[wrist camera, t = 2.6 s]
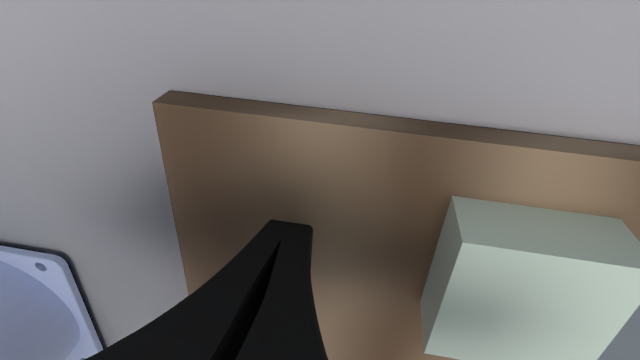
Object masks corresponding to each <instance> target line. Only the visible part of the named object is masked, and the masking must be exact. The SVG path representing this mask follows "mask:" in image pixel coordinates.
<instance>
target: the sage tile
mask: <svg viewBox="0 0 640 360" xmlns="http://www.w3.org/2000/svg"><path fill="white" fill-rule="evenodd" d="M420 305H421V318H422V332H423V345H424V353H426V354H431V355H437V356H442V357H448V358H453V359H459V360H597V359H598V358H599V357H600V355H601V354H602V353H603V351H604V350H605V349H606V348H607V346H608V345H609V344H610V342H611V341H612V340H613V339H614V337H615V336H616V335H617V333H618V332H619V331H620V330H621V328H622V327H623V326H624V324H625V323H626V322H627V320H628V319H629V318H630V317H631V315H632V314H633V313H634V311H635V310H636V309H637V308H638V306H639V305H640V242H639V240H638V239H637V238H636V237H635V236H634V234H633V233H632V232H631V231H630V229H629V228H628V227H627V226H626V225H625V223H624V222H623V221H622V220H621V219H618V218H611V217H604V216H596V215H589V214H582V213H574V212H567V211H560V210H552V209H545V208H538V207H531V206H523V205H516V204H509V203H501V202H494V201H487V200H479V199H472V198H465V197H457V196H452V197H451V201H450V204H449V207H448V210H447V214H446V217H445V220H444V224H443V227H442V230H441V234H440V237H439V240H438V244H437V247H436V250H435V254H434V257H433V260H432V264H431V267H430V270H429V274H428V277H427V280H426V284H425V287H424V290H423V294H422V297H421V300H420Z"/></svg>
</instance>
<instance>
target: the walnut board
mask: <svg viewBox="0 0 640 360" xmlns="http://www.w3.org/2000/svg"><path fill="white" fill-rule="evenodd" d="M152 104H153V110H154V115H155V120H156V125H157V131H158V136H159V141H160V146H161V151H162V157H163V162H164V167H165V172H166V178H167V183H168V188H169V193H170V199H171V204H172V209H173V214H174V220H175V225H176V230H177V235H178V241H179V246H180V251H181V256H182V261H183V267H184V272H185V277H186V282H187V288H188V293H189V295H190V294H192V293H193V292H194V291H196V290H197V289H198V288H199V287H201V286H202V285H203V284H204V283H205V282H207V281H208V280H209V279H210V278H211V277H212V276H213V275H215V274H216V273H217V272H218V271H219V270H220V269H222V268H223V267H224V266H225V265H226V264H227V263H228V262H229V261H230V260H231V259H232V258H233V257H234V256H235V255H236V254H237V253H239V252H240V251H241V250H242V249H243V248H244V247H245V246H246V245H247V244H248V243H249V242H250V240H251V239H252V238H253V237H254V236H255V235H256V234H257V233H258V232H259V231H260V230H261V229H262V228H263V226H264V225H265V224H266V223H267V222H268V221H269V220H271V219H272V220H279V221H286V222H292V223H299V224H306V225H310V226H311V227H312V228H313V240H312V257H311V272H310V273H311V284H312V291H313V297H314V304H315V309H316V314H317V319H318V323H319V328H320V332H321V336H322V340H323V343H324V347H325V351H326V354H327V357H328V360H459V359H453V358H448V357H442V356H437V355H431V354H426V353H424V345H423V332H422V318H421V305H420V300H421V297H422V294H423V290H424V287H425V284H426V280H427V277H428V274H429V270H430V267H431V264H432V260H433V257H434V254H435V250H436V247H437V244H438V240H439V237H440V234H441V230H442V227H443V224H444V220H445V217H446V214H447V210H448V207H449V204H450V201H451V197H452V196H457V197H465V198H472V199H479V200H487V201H494V202H501V203H509V204H516V205H523V206H531V207H538V208H545V209H552V210H560V211H567V212H574V213H582V214H589V215H596V216H604V217H611V218H618V219H621V220H622V221H623V222H624V223H625V225H626V226H627V227H628V228H629V229H630V231H631V232H632V233H633V234H634V236H635V237H636V238H637V239H638V240H639V242H640V146H637V145H628V144H620V143H611V142H603V141H594V140H586V139H577V138H569V137H560V136H552V135H543V134H534V133H526V132H517V131H509V130H500V129H492V128H483V127H475V126H466V125H458V124H449V123H441V122H432V121H424V120H415V119H407V118H398V117H390V116H381V115H373V114H364V113H356V112H347V111H339V110H330V109H322V108H313V107H304V106H296V105H287V104H279V103H270V102H262V101H253V100H245V99H236V98H228V97H219V96H211V95H202V94H194V93H185V92H177V91H168V92H167V93H165V94H164V95H162V96H161V97H159V98H158V99H156V100H155V101H153V102H152Z"/></svg>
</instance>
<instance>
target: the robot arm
mask: <svg viewBox="0 0 640 360" xmlns="http://www.w3.org/2000/svg"><path fill="white" fill-rule="evenodd" d="M312 240H313V228H312V227H311V226H310V225H306V224H299V223H292V222H286V221H279V220H272V219H271V220H269V221H268V222H267V223H266V224H265V225H264V226H263V228H262V229H261V230H260V231H259V232H258V233H257V234H256V235H255V236H254V237H253V238H252V239H251V240H250V242H249V243H248V244H247V245H246V246H245V247H244V248H243V249H242V250H241V251H240V252H239V253H237V254H236V255H235V256H234V257H233V258H232V259H231V260H230V261H229V262H228V263H227V264H226V265H225V266H224V267H223V268H222V269H220V270H219V271H218V272H217V273H216V274H215V275H213V276H212V277H211V278H210V279H209V280H208V281H207V282H205V283H204V284H203V285H202V286H201V287H199V288H198V289H197V290H196V291H194V292H193V293H192V294H190V295H189V296H188V297H186V298H185V299H184V300H182V301H181V302H180V303H178V304H177V305H175V306H174V307H173V308H171V309H170V310H168V311H167V312H165V313H164V314H162V315H161V316H159V317H158V318H156V319H155V320H153V321H152V322H150V323H149V324H147V325H145V326H144V327H142V328H141V329H139V330H137V331H136V332H134V333H132V334H130V335H129V336H127V337H125V338H123V339H122V340H120V341H118V342H116V343H114V344H113V345H111V346H109V347H107V348H106V349H104V350H103V347H102V345H101V343H100V340H99V338H98V335H97V333H96V331H95V328H94V326H93V323H92V321H91V319H90V316H89V314H88V312H87V309H86V307H85V304H84V302H83V300H82V297H81V295H80V292H79V290H78V288H77V285H76V283H75V281H74V278H73V276H72V273H71V271H70V269H69V266H68V264H67V262H66V261H65V260H64V259H63V258H61V257H60V256H57V255H53V254H47V253H41V252H35V251H30V250H24V249H18V248H12V247H6V246H0V360H328V357H327V354H326V351H325V347H324V343H323V340H322V336H321V332H320V328H319V323H318V319H317V314H316V309H315V304H314V297H313V291H312V284H311V273H310V272H311V257H312Z"/></svg>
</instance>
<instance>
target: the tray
mask: <svg viewBox="0 0 640 360" xmlns="http://www.w3.org/2000/svg"><path fill="white" fill-rule="evenodd" d="M597 360H640V305H639V306H638V308H637V309H636V310H635V311H634V313H633V314H632V315H631V317H630V318H629V319H628V320H627V322H626V323H625V324H624V326H623V327H622V328H621V330H620V331H619V332H618V333H617V335H616V336H615V337H614V339H613V340H612V341H611V342H610V344H609V345H608V346H607V348H606V349H605V350H604V351H603V353H602V354H601V355H600V357H599V358H598V359H597Z"/></svg>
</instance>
